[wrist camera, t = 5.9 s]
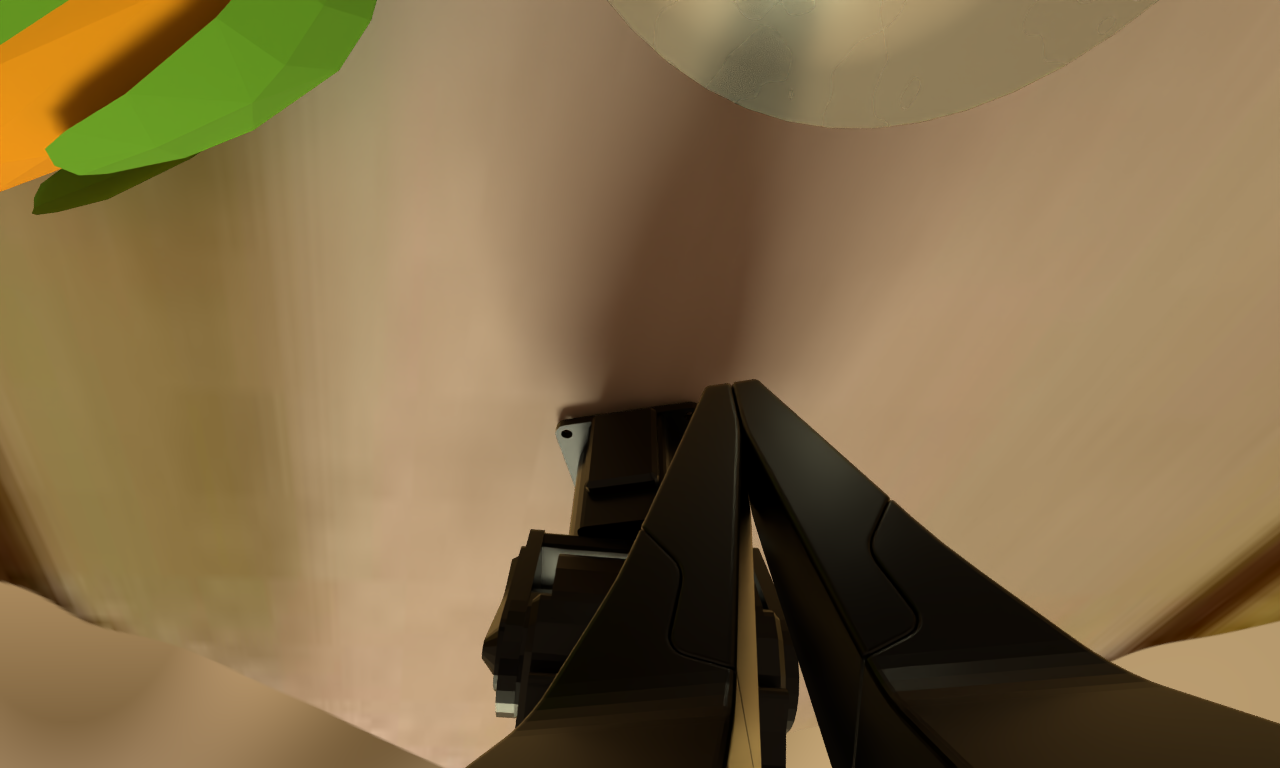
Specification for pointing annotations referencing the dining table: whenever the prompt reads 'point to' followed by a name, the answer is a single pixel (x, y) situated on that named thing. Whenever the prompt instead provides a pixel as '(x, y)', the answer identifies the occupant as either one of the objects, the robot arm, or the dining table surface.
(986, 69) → the lid
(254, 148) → the dining table surface
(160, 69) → the corn
